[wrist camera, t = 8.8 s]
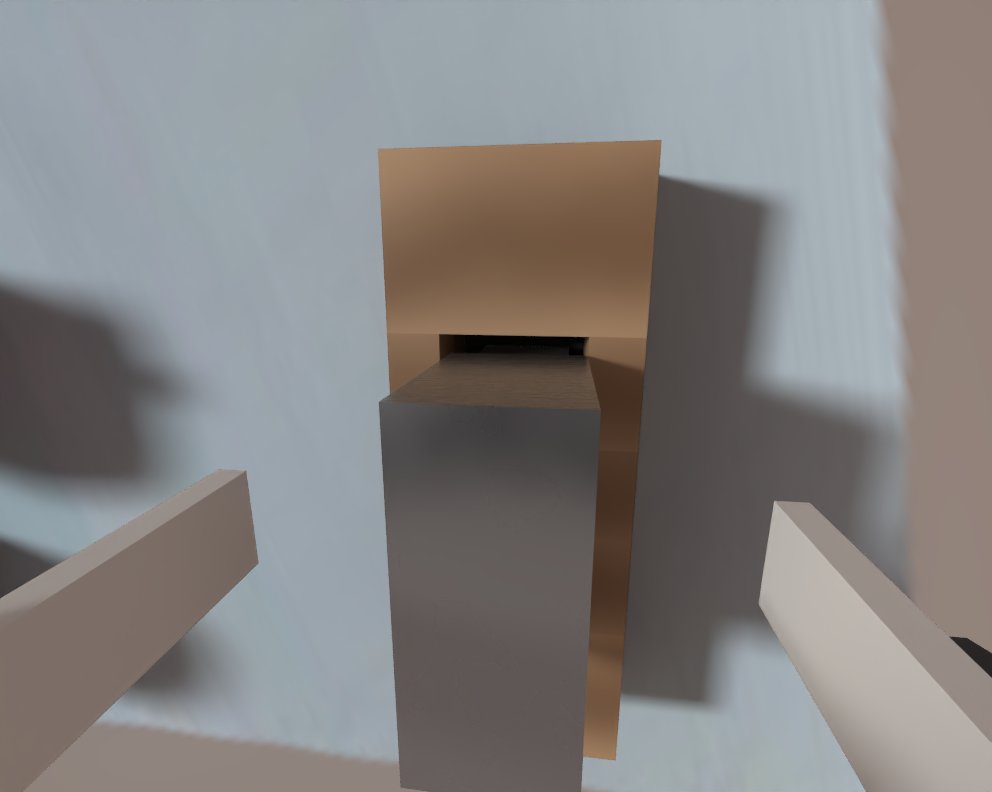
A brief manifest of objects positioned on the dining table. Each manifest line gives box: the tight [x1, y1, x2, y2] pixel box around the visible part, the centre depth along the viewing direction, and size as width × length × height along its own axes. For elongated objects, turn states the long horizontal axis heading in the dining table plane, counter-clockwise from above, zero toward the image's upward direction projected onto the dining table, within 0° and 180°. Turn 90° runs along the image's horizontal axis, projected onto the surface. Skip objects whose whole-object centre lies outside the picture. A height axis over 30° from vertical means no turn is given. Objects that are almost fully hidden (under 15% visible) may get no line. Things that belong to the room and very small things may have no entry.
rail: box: [378, 140, 661, 760], centre depth 18 cm, size 20×8×4 cm, turn 179°
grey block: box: [379, 345, 601, 792], centre depth 15 cm, size 9×4×10 cm, turn 0°
